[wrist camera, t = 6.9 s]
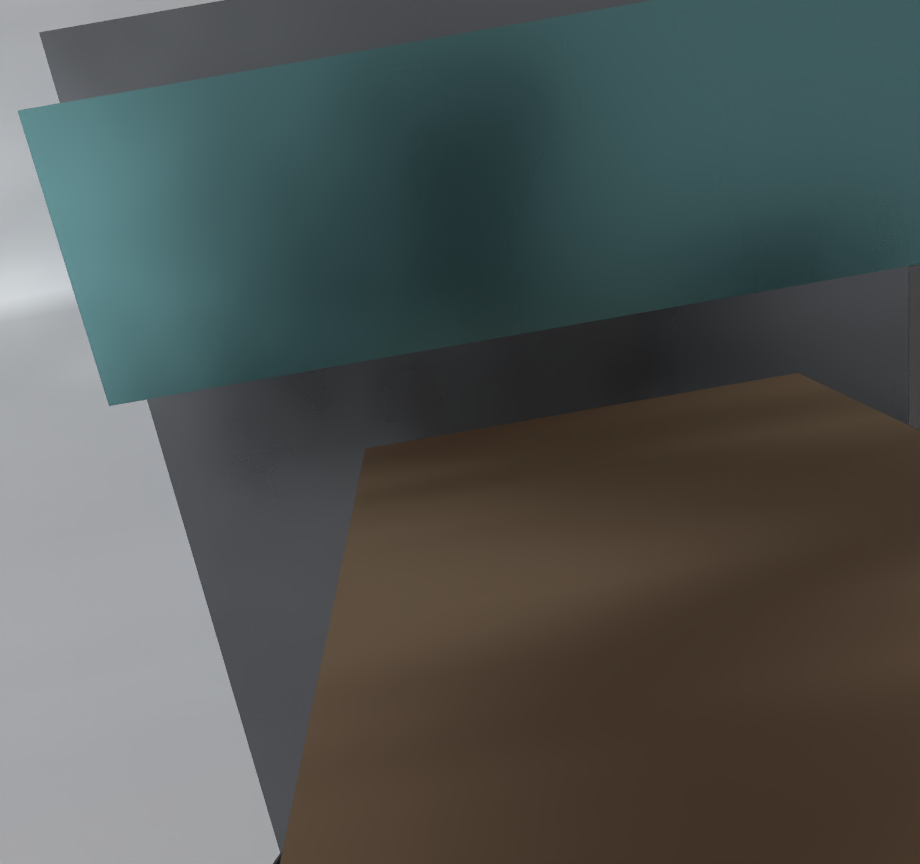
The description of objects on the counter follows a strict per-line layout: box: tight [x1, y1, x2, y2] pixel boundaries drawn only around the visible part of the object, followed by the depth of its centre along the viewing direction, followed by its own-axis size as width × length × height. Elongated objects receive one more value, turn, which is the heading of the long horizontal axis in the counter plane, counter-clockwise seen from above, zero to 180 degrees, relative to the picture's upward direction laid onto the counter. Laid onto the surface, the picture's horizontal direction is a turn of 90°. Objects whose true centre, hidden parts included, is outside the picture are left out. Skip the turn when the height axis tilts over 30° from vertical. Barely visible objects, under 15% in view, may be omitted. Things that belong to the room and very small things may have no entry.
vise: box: [18, 0, 920, 853], centre depth 13 cm, size 24×12×5 cm, turn 9°
